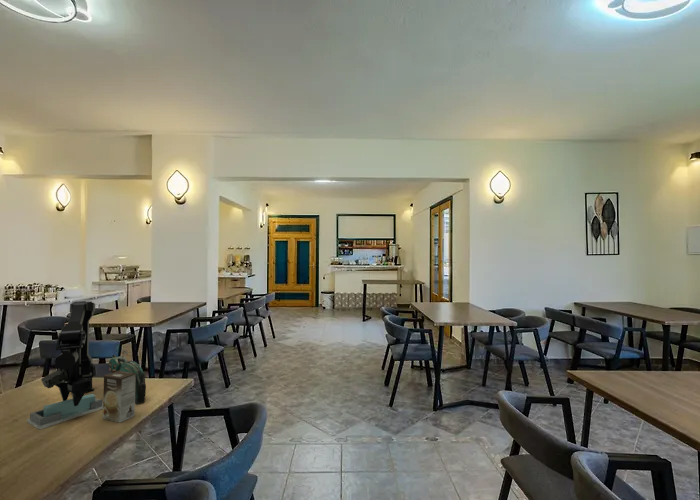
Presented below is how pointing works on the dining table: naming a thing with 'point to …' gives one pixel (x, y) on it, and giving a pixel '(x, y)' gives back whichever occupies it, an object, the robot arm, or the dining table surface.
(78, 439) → the dining table surface
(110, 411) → the coffee box
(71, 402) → the rail
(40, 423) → the cup bracket
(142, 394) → the ceramic cat
